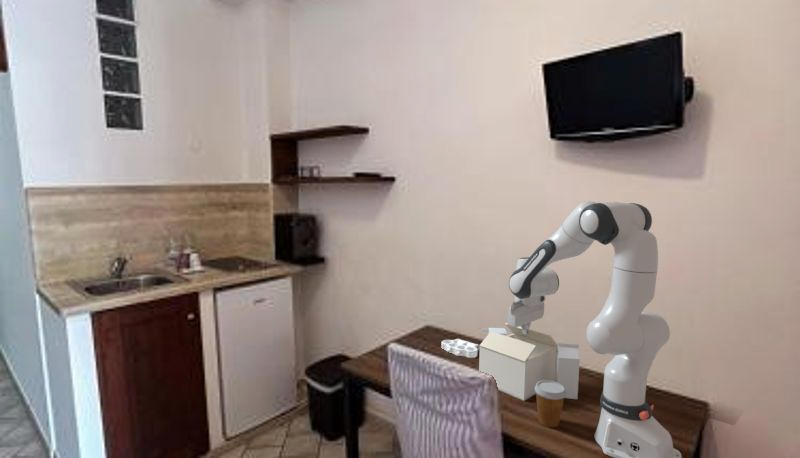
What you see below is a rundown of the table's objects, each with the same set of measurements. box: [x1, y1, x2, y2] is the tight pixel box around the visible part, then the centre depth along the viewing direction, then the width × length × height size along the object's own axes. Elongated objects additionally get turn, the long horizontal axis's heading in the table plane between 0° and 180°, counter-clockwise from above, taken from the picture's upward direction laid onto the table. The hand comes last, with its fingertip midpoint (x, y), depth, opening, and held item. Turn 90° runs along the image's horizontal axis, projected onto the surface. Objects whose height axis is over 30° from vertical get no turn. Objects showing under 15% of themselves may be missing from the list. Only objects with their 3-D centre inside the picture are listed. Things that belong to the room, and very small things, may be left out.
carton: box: [478, 333, 557, 402], centre depth 171 cm, size 20×22×14 cm
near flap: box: [479, 331, 536, 362], centre depth 165 cm, size 20×8×1 cm, turn 42°
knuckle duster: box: [440, 338, 480, 359], centre depth 203 cm, size 3×18×15 cm
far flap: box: [505, 322, 558, 347], centre depth 176 cm, size 20×8×1 cm
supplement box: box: [487, 327, 508, 336], centre depth 194 cm, size 7×7×13 cm
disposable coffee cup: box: [535, 381, 566, 428], centre depth 143 cm, size 10×10×12 cm
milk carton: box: [554, 342, 581, 400], centre depth 162 cm, size 7×7×19 cm
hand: (525, 333), depth 173 cm, fingers closed
